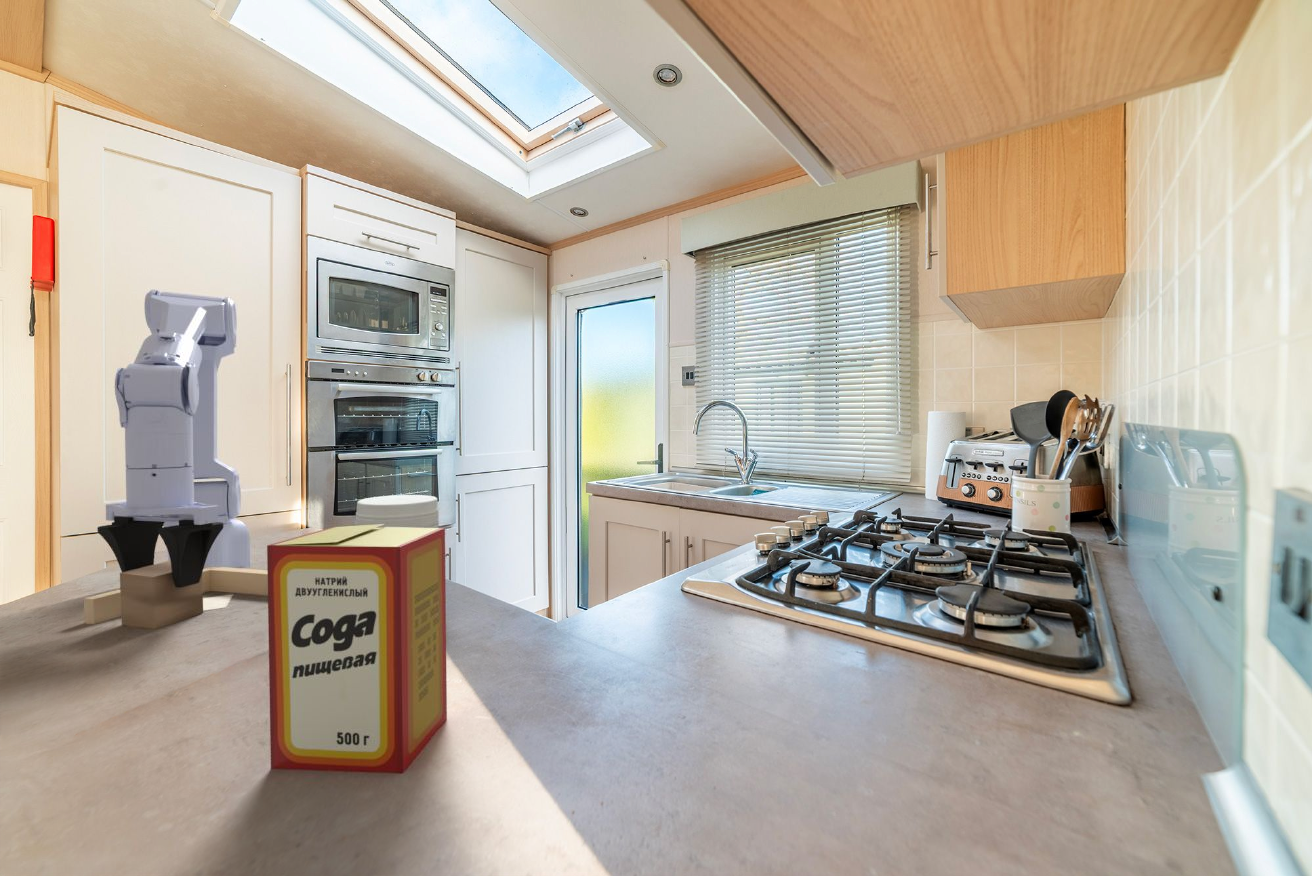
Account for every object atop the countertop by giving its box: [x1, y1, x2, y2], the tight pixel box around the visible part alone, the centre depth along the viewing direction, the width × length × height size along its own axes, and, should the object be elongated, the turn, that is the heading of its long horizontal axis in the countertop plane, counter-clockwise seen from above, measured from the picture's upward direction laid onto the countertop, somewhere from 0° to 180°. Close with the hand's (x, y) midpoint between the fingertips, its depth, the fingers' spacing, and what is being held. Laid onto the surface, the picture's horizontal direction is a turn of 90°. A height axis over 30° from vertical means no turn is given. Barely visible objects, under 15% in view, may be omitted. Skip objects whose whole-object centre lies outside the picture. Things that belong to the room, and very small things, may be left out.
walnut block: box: [119, 560, 204, 630], centre depth 60 cm, size 5×5×6 cm
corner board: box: [83, 566, 268, 625], centre depth 64 cm, size 14×19×4 cm
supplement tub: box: [354, 494, 440, 528], centre depth 66 cm, size 10×10×15 cm
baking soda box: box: [266, 524, 448, 774], centre depth 39 cm, size 10×6×16 cm
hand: (162, 583), depth 60 cm, fingers open, 7 cm apart
